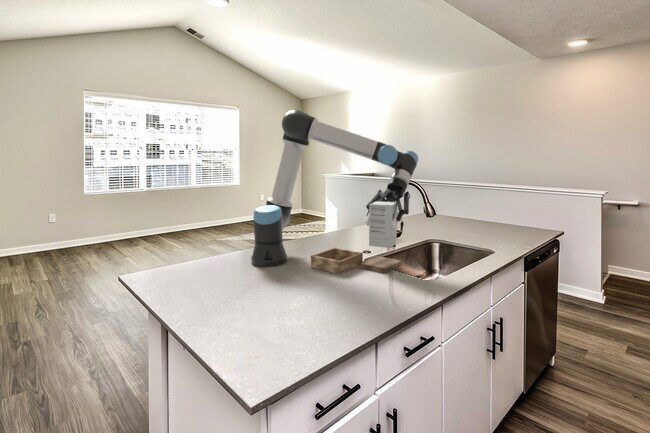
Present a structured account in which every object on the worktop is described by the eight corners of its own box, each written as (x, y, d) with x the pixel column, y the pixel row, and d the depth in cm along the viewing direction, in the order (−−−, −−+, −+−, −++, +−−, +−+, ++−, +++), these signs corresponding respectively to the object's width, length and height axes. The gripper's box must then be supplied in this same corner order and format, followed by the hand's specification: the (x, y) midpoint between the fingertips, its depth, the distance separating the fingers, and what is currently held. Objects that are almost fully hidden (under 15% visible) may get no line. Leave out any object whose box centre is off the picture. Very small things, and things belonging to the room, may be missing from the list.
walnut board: (359, 267, 153) (359, 263, 152) (376, 260, 163) (376, 255, 162) (385, 273, 145) (385, 268, 145) (401, 265, 155) (401, 260, 155)
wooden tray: (311, 267, 153) (310, 255, 153) (335, 258, 166) (334, 247, 165) (339, 274, 145) (339, 261, 144) (362, 264, 157) (362, 252, 156)
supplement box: (391, 248, 147) (392, 205, 144) (368, 246, 150) (368, 204, 147) (396, 242, 155) (397, 201, 152) (374, 240, 159) (375, 200, 156)
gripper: (428, 189, 154) (409, 234, 144) (377, 187, 168) (358, 227, 159) (422, 177, 149) (403, 223, 139) (371, 175, 163) (350, 216, 154)
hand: (379, 225), depth 149 cm, fingers closed on supplement box, 11 cm apart
